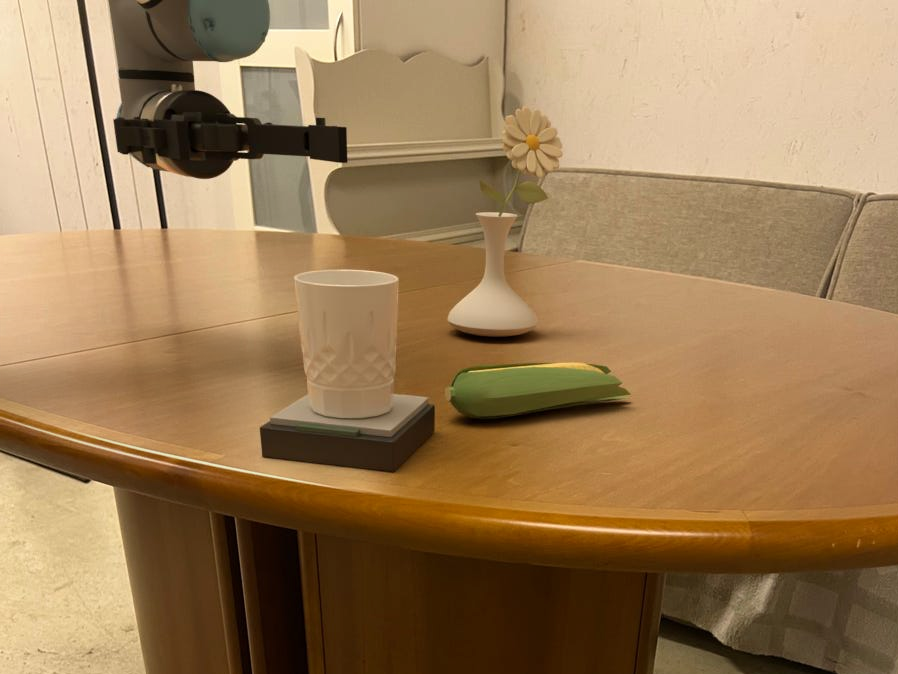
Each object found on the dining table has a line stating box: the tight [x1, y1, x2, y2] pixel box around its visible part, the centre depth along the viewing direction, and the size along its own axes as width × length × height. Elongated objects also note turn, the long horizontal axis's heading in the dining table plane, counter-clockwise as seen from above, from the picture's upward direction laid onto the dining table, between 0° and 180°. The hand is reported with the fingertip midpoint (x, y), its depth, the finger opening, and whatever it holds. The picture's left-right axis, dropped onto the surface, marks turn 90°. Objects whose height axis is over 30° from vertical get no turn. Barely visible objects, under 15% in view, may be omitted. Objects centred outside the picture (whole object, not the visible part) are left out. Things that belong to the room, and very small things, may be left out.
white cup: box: [293, 269, 400, 418], centre depth 73 cm, size 8×8×10 cm
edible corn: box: [444, 361, 631, 420], centre depth 86 cm, size 5×20×5 cm, turn 117°
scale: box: [259, 393, 436, 473], centre depth 76 cm, size 11×11×3 cm
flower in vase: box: [446, 106, 563, 338], centre depth 111 cm, size 13×11×25 cm
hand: (266, 143), depth 76 cm, fingers open, 13 cm apart
